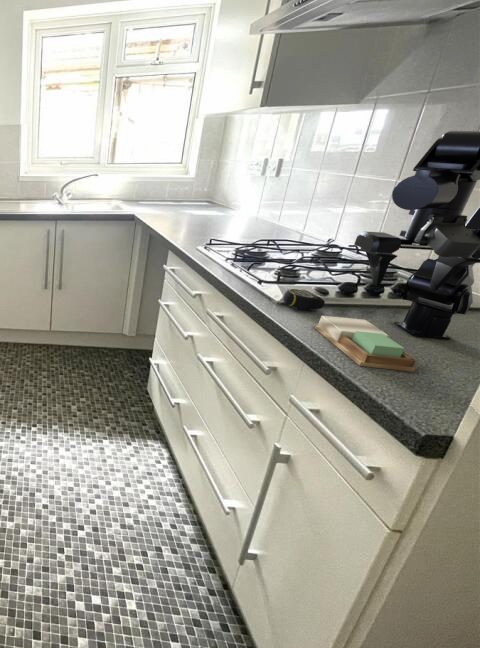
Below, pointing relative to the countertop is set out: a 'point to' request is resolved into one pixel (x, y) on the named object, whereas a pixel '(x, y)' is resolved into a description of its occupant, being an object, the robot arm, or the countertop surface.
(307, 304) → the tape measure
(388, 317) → the countertop surface
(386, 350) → the green rectangular block
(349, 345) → the frame
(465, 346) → the countertop surface
